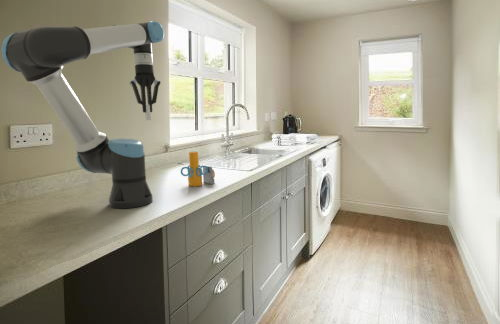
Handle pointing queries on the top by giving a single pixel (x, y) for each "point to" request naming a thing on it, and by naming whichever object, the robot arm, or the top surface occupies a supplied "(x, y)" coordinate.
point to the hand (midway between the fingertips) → (148, 120)
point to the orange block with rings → (194, 170)
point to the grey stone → (208, 175)
